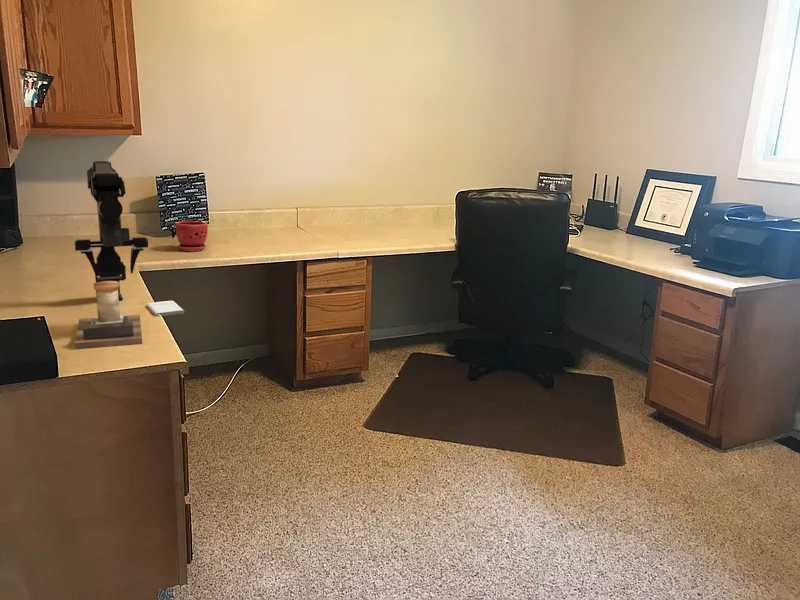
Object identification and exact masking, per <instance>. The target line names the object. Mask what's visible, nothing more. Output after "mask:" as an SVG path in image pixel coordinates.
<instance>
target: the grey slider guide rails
mask: <svg viewBox="0 0 800 600" xmlns="http://www.w3.org/2000/svg"><path fill="white" fill-rule="evenodd" d="M123 316H124V323H110V324H96V325H95V318H96V317H90V318H91V322H90V325H83V337H84V340H89V339H102V338H115V337H128V336H134V333H133V322H128V316H129V315H123Z"/></svg>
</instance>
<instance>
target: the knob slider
mask: <svg viewBox="0 0 800 600" xmlns="http://www.w3.org/2000/svg"><path fill="white" fill-rule="evenodd" d="M118 288H119V282H117V281H101V282H96V281H95V282H94V283H93V289H94V290H95V295H96V296H95V297H96V298H95V299H96V309H97V316H95V318H96V320H95V325H96V324H110V323H123V316H124V314H121V313H120V300H119V296H118Z"/></svg>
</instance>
